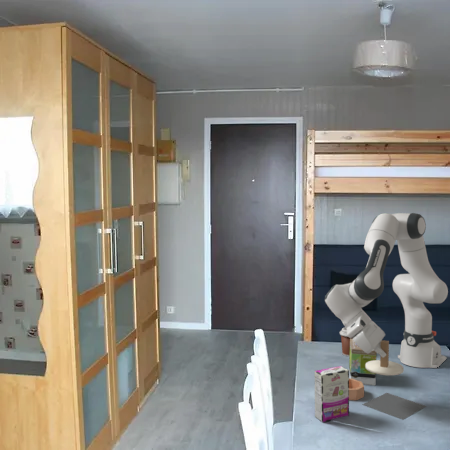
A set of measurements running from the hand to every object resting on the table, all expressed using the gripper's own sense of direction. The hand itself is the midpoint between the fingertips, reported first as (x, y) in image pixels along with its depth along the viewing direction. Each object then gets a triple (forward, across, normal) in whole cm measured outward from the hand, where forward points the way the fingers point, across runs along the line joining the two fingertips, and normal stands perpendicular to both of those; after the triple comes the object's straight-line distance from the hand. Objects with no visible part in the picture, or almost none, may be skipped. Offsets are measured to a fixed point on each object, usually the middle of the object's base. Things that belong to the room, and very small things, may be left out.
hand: (386, 354), depth 183 cm
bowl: (+3, -3, -23) cm, 24 cm away
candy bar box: (+3, +18, -24) cm, 30 cm away
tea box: (+4, -22, -23) cm, 32 cm away
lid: (+3, 0, -4) cm, 5 cm away
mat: (+15, 0, -11) cm, 19 cm away
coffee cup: (-5, -50, -32) cm, 59 cm away
